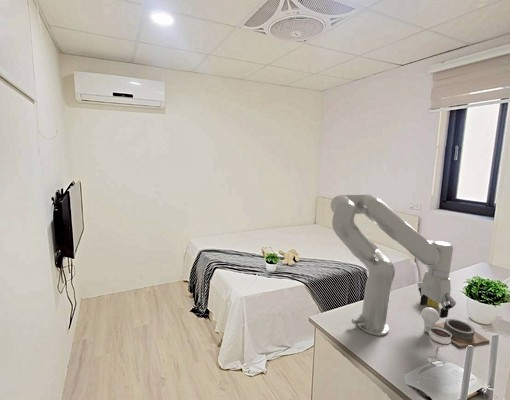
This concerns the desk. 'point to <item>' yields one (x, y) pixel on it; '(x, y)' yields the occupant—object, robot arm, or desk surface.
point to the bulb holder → (462, 333)
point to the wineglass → (439, 339)
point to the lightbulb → (429, 318)
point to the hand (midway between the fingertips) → (433, 310)
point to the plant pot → (432, 303)
